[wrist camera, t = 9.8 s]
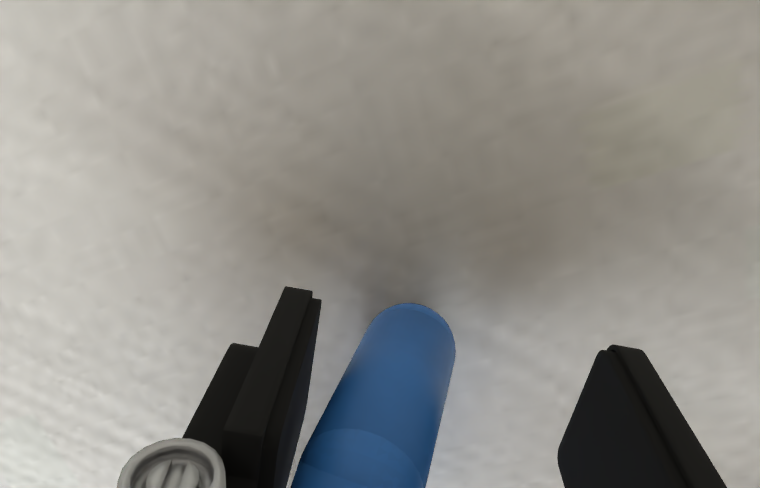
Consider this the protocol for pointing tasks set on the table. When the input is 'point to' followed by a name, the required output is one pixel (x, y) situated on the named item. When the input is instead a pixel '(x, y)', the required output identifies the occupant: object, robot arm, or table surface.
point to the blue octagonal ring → (384, 406)
